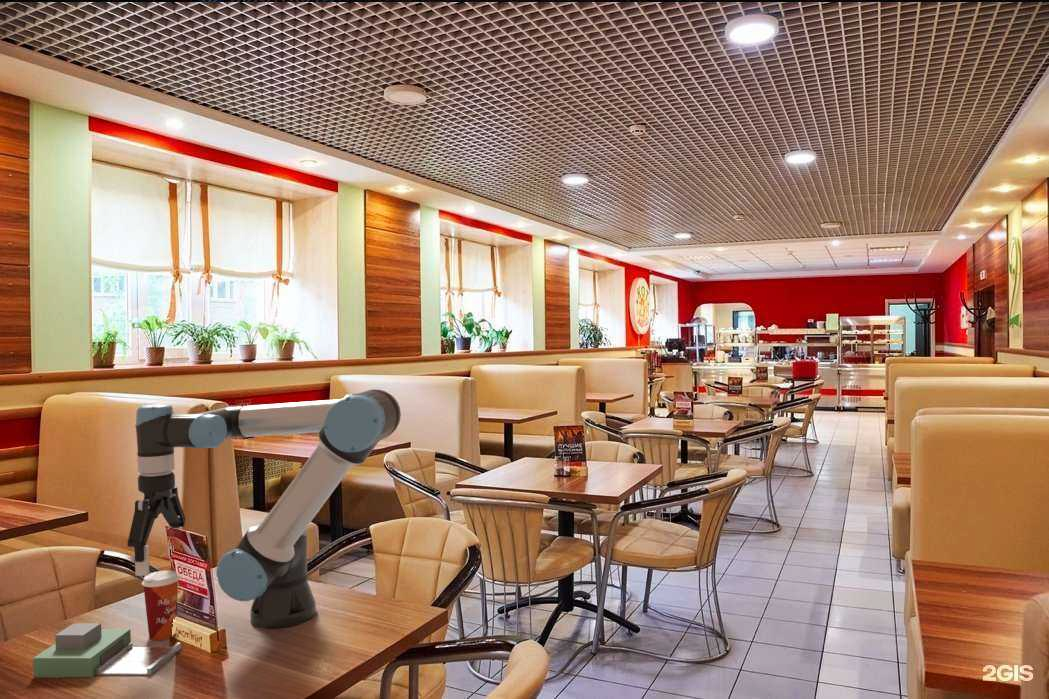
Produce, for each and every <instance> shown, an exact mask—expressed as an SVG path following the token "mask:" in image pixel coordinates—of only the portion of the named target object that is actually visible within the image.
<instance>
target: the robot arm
mask: <svg viewBox="0 0 1049 699" xmlns="http://www.w3.org/2000/svg"><path fill="white" fill-rule="evenodd" d="M173 409H174V408H173V406H172V405H171V404H167V403H166V404H165V403H160V404H159V403H158V404H146V405H141V406H139V407H138V408H137V409H136V417H135V418H136V419H135V423H136V424H135V426H134V427H135V430H136V431H135V434H136V443H137V444H136V445H137V446H136V447H137V453H136V456H137V458H136V463H137V473H138V474H139V475H138V476H137V487H138V488H137V490H138V491H139V492H140V493H143V494H144V495H143V500H142V499H140V500H139V499H138V500H135V502H134V513H133V517H132V520H131V527H130V530H129V536H128V539H127V544H126V545H127V547H129V548H134V565H135V567H134V568H135V570H134V571H135V576H136V577H137V576H141V577H142V576H144V577H145V576H148V575H149V574H150V551H149V550H150V548H149V544H148V545H147V543H148V540H149V537H150V535H151V531H152V528H153V525H154V523H155V520H156V519H158V517H159V515H160V514H161V515H162V516H163V518H164V520H165V522H167V524H168V526H169V527H168V528H166V529H169V528H175V529H178V530H180V531H181V528H183V527H185V526H186V516H185V513H184V509H183V507H182V504H181V500H180V498H179V497H180V496H179V491H178V488H177V487H176V474H175V472H174V470H175V469H176V468H175V448H186V449H187V448H188V449H189V448H190V449H191V448H193V449H202V450H203V449H210V448H211V449H212V448H213V449H214V448H215V449H216V448H218V447H220V446H221V445H222V443H223V442H224V441H225V440H228V439H237V438H238V439H241V438H249V437H250V438H251V437H252V438H253V437H264V436H281V435H297V434H314V433H318V434H317V437H318V442H319V443H318V445H317V446H316V448H315V449H314V451H313V452H312V453H311V455H310V456H309V457H308V458H307V460H306V461H305V463H304V464H303V466H302V467H301V468H300V470H299V471H298V472H297V474H296V475H295V477H294V478H292V479H293V480H292V481H291V482H290V483H289V485H288V486H287V488H286V489H285V490H284V491H283V493H282V495H281V496H280V497H279V499H278V500H277V502H276V503H274V504H275V505H273V507H272V508H271V509H270V511H269V513H268V514H267V515H266V517H265V518H264V519H263V521H262V522H258V523H257V524H254V525H252V526H250V527H249V528H248V529H247V531H246V532H245V534H244V535H243V536H242V537H241V539H240V540H239V542H238V543H237V545H236V546H235V547H234V548H233V549H231V550H229V551H227V552H226V553H224V555H222V556H221V558H219V561H218V563H217V566H216V578H217V583H218V586H219V587H220V588H221V590H222V591H223V593H224V594H226V596H228V597H229V598H231V599H233V600H235V601H238V602H250V601H252V603H251V608H250V611H249V612H250V613H249V614H250V616H249V617H250V622H251V623H252V625H253V626H256V627H259V628H265V629H273V628H274V629H277V628H280V629H281V628H286V627H287V628H288V627H291V626H295V625H298V624H301V623H304V622H306V621H308V620H310V619H311V618H312V617H314V616H315V615H316V613H317V608H316V605H317V603H316V600H315V597H314V594H313V592H312V589H311V587H310V584H309V580H308V554H307V553H308V552H307V551H308V549H307V548H308V547H307V546H308V545H307V544H308V543H307V542H308V541H307V537H308V535H307V528H308V526H309V525H310V524H311V523H312V521H313V519H314V518H315V517H316V516H317V514H319V513H318V512H320V510H321V509H322V507H323V506H324V504H325V503H326V502H327V501H328V499H329V498H330V497H331V495H332V494H333V492H334V491H335V489H336V488H337V487H338V485H339V484H340V483H341V482H342V481H343V479H344V477H345V476H346V475H347V473H348V472H349V470H351V468H352V467H353V466H354V467H355V466H360V465H362V464H363V463H364V462H365V461H366V459H368V457H369V456H370V454H371V453H372V451H373V450H374V449H375V448H376V446H377V444H378V443H380V441H382V440H384V439H386V438H388V437H390V436H391V435H392V434H393V433H394V432H395V431H396V430H397V429H398V427H399V425H400V421H401V416H402V415H401V414H402V413H401V407H400V405H399V402H398V400H397V399H396V398H395V396H393V395H392V394H390V393H389V392H388V391H385V390H383V389H374V388H373V389H368V390H366V391H361V392H358V393H357V392H356V393H347V394H346V395H345V396H343V397H341V398H338V399H324V400H323V399H322V400H311V401H310V400H309V401H298V402H296V401H295V402H282V403H269V404H253V405H243V406H242V405H228V406H224V407H221V408H217V409H213V410H207V411H204V412H198V413H187V414H186V413H181V414H180V413H174V410H173ZM169 542H170V539H169V541H168V540H167V556H170V549H171V557H173V556H172V550H173V552H174V546H173V549H172V546H171V543H169ZM169 544H170V547H169Z"/></svg>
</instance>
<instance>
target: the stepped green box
mask: <svg viewBox="0 0 1049 699" xmlns="http://www.w3.org/2000/svg"><path fill="white" fill-rule="evenodd" d="M131 634H132V632H131V628H102V623H100V622H97V623H96V622H94V623H93V622H92V623H90V622H88V623H87V622H86V623H85V622H84V623H83V622H75V623H72V624H71V625H69V626H67V627H65V628H64V629H62V630H61V631H60V632H58V633H57V634H55V635H54V637H55V638H54V639H55V643H54V644H53V645H51V646H49V647H48V648H46V649H45V650H43V651H42V652H40V653H39V654H37V655H35V656H34V657H33V658H32V660H33V661H32V664H33V678H59V679H61V678H60V677H91V678H93V677H94V676H96V675H95V668H96V667H98V666H99V665H100V664H102V663H103V662H104V661H106V660H107V659H108V658H110V657H111V656H112V655H114V654H115V653H116V652H118V651H119V650H120V649H122V648H123V647H124V646H125V645H127V644H128V643H132V639H131V637H132V636H131ZM93 675H94V676H93ZM92 676H93V677H92Z"/></svg>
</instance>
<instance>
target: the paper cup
mask: <svg viewBox="0 0 1049 699" xmlns="http://www.w3.org/2000/svg"><path fill="white" fill-rule="evenodd" d="M179 580H180V577H179V575H178V572H176V571H174V570H160V571H159V570H158V571H154V572H149V575H148V576H144V577H143V581H142V582H141V585H142V586H143V593H144V604H145V611H146V622H147V629H148V630H147V631H148V637H149V638H148V639H149V640H151V641H164V640H168V639H171V638H172V627H173V624H172V623H173V619H175V617H176V616H177V617H178V611H177V612H176V602H177V603H178V589H179V588H178V585H179V584H178V583H179Z"/></svg>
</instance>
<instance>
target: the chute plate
mask: <svg viewBox="0 0 1049 699" xmlns="http://www.w3.org/2000/svg"><path fill="white" fill-rule="evenodd" d="M133 643H134V642H131V643H128V644H127V645H125V646H124V647H123V648H122V649H120V650H119V651H118V652H116V653H115V654H114V655H112V656H111V657H110V658H108V659H107V660H106V661H104V662H103V663H102V664H100V665H99V666H98V667H96V668H95V675H94V676H152V675H153V674H154V673H156V672H157V671H158V670H159V669H160V668H161V667H162V666H164V664H165V663H167V662H168V661H169V660H170V659H171V658H172V657H174V656H175V654H177V653H178V652H179V651H180V650H181V649H182V643H181V642H175V644H174V645H172V646H134V645H133Z"/></svg>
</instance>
